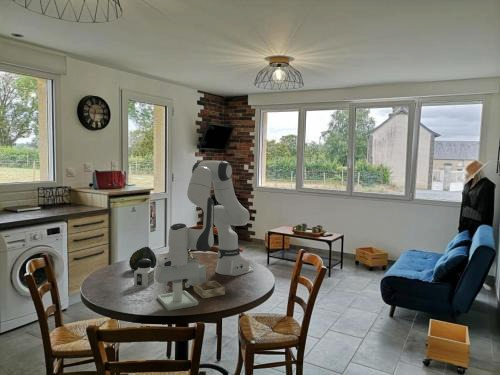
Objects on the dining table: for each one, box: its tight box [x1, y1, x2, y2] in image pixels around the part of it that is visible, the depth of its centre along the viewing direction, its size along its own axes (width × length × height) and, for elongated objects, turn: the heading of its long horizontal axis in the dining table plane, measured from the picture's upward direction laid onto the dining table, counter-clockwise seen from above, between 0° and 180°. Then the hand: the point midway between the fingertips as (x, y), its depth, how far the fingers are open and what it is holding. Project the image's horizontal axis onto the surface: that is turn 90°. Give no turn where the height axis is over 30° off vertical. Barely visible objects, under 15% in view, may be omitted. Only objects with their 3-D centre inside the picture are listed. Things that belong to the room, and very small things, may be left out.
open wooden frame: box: [193, 280, 226, 299], centre depth 183 cm, size 12×12×4 cm
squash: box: [128, 246, 158, 271], centre depth 215 cm, size 14×15×15 cm
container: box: [133, 259, 155, 288], centre depth 192 cm, size 8×8×13 cm
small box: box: [189, 263, 207, 287], centre depth 193 cm, size 8×6×10 cm
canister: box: [171, 279, 184, 302], centre depth 170 cm, size 5×5×10 cm
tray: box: [156, 290, 199, 312], centre depth 170 cm, size 14×16×2 cm
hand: (177, 288), depth 170 cm, fingers open, 8 cm apart
